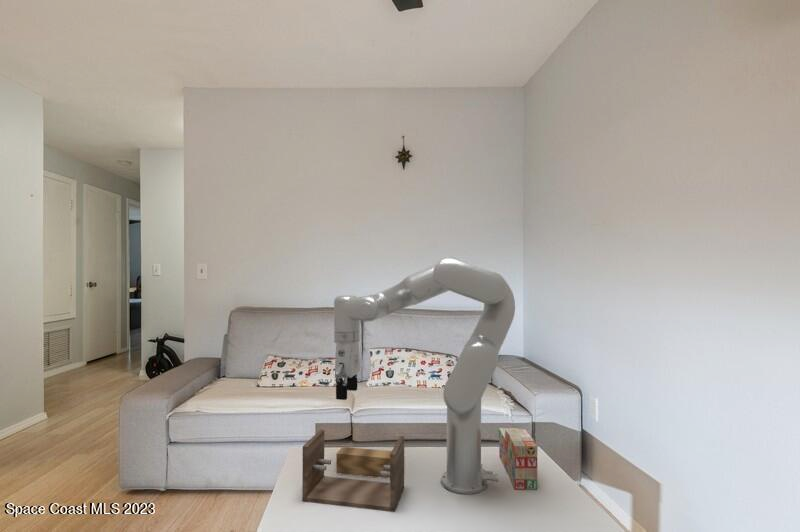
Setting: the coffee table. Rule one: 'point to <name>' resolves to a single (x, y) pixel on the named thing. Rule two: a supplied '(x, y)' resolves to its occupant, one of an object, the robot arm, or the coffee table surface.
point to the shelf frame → (351, 480)
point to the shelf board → (362, 461)
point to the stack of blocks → (519, 457)
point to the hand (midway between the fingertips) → (347, 394)
